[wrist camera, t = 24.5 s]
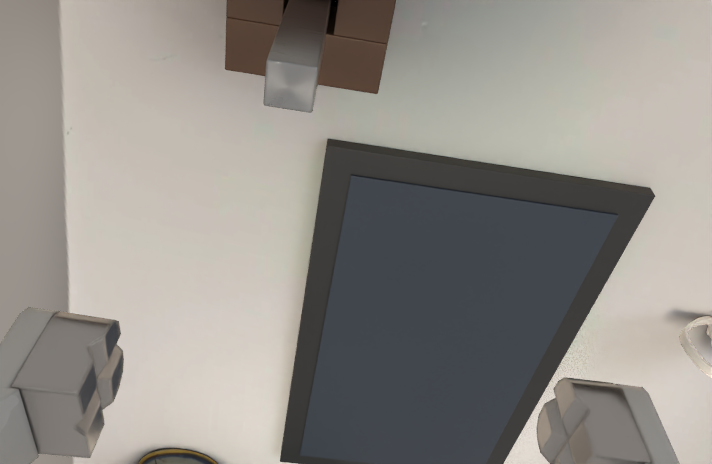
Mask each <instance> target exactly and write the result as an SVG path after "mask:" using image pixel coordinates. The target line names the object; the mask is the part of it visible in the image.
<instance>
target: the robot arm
mask: <svg viewBox="0 0 712 464" xmlns="http://www.w3.org/2000/svg"><path fill="white" fill-rule="evenodd" d="M120 334H121V332H120V326H119V321H116V320H111V319H105V318H98V317H92V316H85V315H79V314H73V313H65V312H60V311H52V310H45V309H38V308H31V307H28V308H27V309H25V310H24V311H23V312H22V313H20V314H19V316H18V317H17V319H16V320H15V322H14V323H13V325H12V326H11V328H10V329H9V331H8V332H7V334H6V336H5V337H4V339H3V340H2V342H1V343H0V464H31V463H32V462H33V461H34V460H35V459H37V458H38V456H39V455H38V454H50V455H62V456H73V457H85V458H90V457H91V455H92V452H93V450H94V448H95V445H96V443H97V440H98V438H99V436H100V433H101V431H102V428H103V426H104V418H103V411H102V410H103V409H104V408H106V407H107V406H108V405H110V404H111V403H112V402H114V399H115V397H116V394H117V391H118V389H119V386H120V381H121V377H122V373H123V362H124V358H123V350H122V349H121V348H120V347H119V346H118V345H117V341H118V339H119V337H120ZM554 393H555V396H556V398H554V399H553V400H551V401H549V402H547V403H545V404H544V406H543V408H542V410H541V412H540V413H539V417H538V423H537V440H538V445H539V449H540V453H541V454H542V455H543V456H544V457H545V458H546V459H547V461H548V462H549V463H550V464H680V463H679V461H678V459H677V457H676V454H675V452H674V450H673V448H672V445H671V443H670V441H669V439H668V436H667V434H666V432H665V430H664V427H663V425H662V423H661V421H660V418H659V416H658V414H657V412H656V409H655V407H654V405H653V403H652V400H651V398H650V396H649V394H648V392H647V391H646V390H645V389H644V388H643V387H636V386H628V385H620V384H613V383H608V382H599V381H590V380H582V379H573V378H563V379H561V380H559V381H558V383H557V384H556V386H555V388H554Z"/></svg>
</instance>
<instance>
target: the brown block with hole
mask: <svg viewBox="0 0 712 464" xmlns="http://www.w3.org/2000/svg"><path fill="white" fill-rule="evenodd" d="M288 1H289V0H227V15H226V16H227V18H226V55H225V69H226V70H231V71H237V72H243V73H249V74H256V75H262V76H266V62H267V58H268V55H269V52H270V50H271V47H272V44H273V42H274V39H275V36H276V34H277V31H278V28H279V26H280V23H281V20H282V17H283V15H284V12H285V9H286V7H287V4H288ZM395 3H396V0H338V5H337V7H334V6H331V9H330V16H329V21H328V27H327V33H326V38H325V44H324V49H323V55H322V61H321V66H320V72H319V77H318V83H317V84H318V85H324V86H330V87H337V88H343V89H349V90H355V91H362V92H368V93H374V94H377V93H378V90H379V85H380V80H381V74H382V69H383V64H384V59H385V54H386V49H387V43H388V39H389V34H390V29H391V24H392V19H393V14H394V8H395Z"/></svg>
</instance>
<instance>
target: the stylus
mask: <svg viewBox="0 0 712 464" xmlns="http://www.w3.org/2000/svg"><path fill="white" fill-rule="evenodd" d="M331 2H332V0H289V1H288V4H287V7H286V9H285V12H284V15H283V17H282V20H281V23H280V26H279V28H278V31H277V34H276V36H275V39H274V42H273V44H272V47H271V50H270V52H269V55H268V58H267V62H266V76H265V90H264V105H265V106H271V107H277V108H283V109H290V110H296V111H303V112H309V113H311V112H312V111H313V105H314V100H315V94H316V89H317V83H318V77H319V72H320V66H321V61H322V55H323V49H324V44H325V38H326V33H327V27H328V21H329V16H330V9H331Z"/></svg>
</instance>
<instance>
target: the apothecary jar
mask: <svg viewBox="0 0 712 464" xmlns="http://www.w3.org/2000/svg"><path fill="white" fill-rule="evenodd" d="M138 464H218V463H216V462H215V461H214V460H212V459H211V458H209V457H207V456H205V455H203V454H200V453H197V452H193V451H189V450H183V449H163V450H158V451H154V452H151V453H149V454H147V455H145V456H144V457H143V458H142V459H141V460H140V461H139V463H138Z"/></svg>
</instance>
